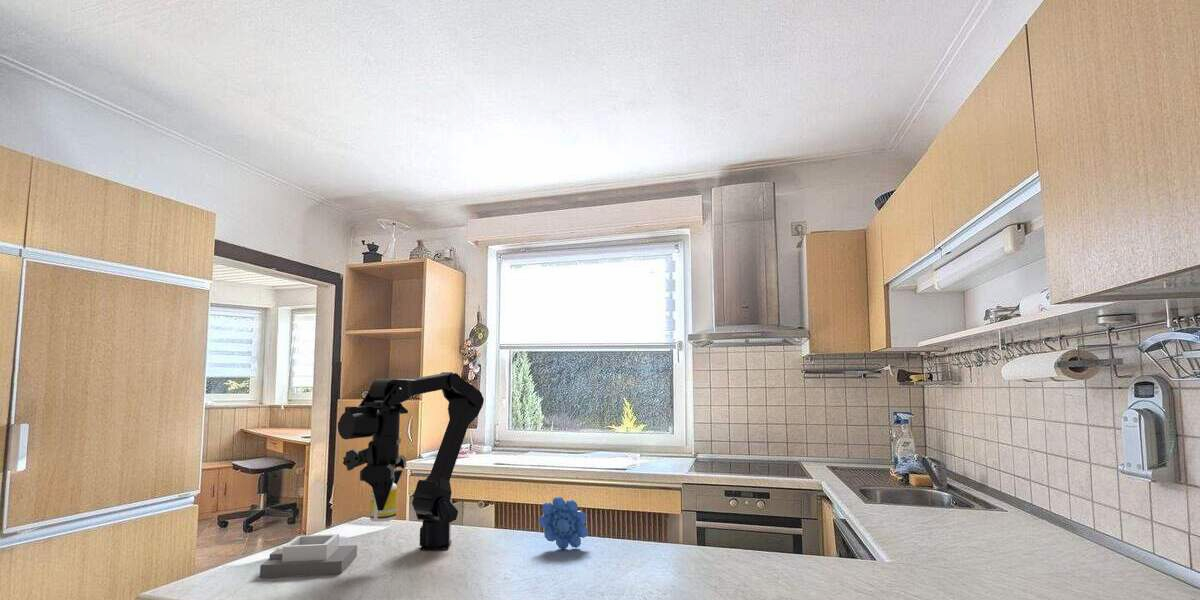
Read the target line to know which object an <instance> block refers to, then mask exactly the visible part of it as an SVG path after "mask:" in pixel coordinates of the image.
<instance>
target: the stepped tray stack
mask: <svg viewBox="0 0 1200 600" xmlns="http://www.w3.org/2000/svg"><path fill="white" fill-rule="evenodd" d="M357 556H358V545H357V544H355V545H340V533H336V534H333V533H332V534H331V533H330V534H312V535H311V534H309V535H296V537H293V539H291V540H290V541H289V542H288V543H286V544H285V545H284V546H282V548H276V549H275V550H273V551H272V552H270V553H269V558H268V559H267V560H266V561H264V562H262V564H260V566H259V578H260V579H263V578H267V579H268V578H283V577H284V578H285V577H303V576H304V577H305V576H323V575H338V574H339V575H341V574H343V573H344V571H346V569H347V568H348V567H349V566H350V565H351V564H352V563H353V561H354V560H356V559H357Z"/></svg>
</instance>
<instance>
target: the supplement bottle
mask: <svg viewBox="0 0 1200 600" xmlns="http://www.w3.org/2000/svg"><path fill="white" fill-rule="evenodd" d="M393 477H394V476H393ZM370 487H371V488H370V508H369V511H370V513H369V515H370V516H369V520H370V522H373V523H374V522H378V523H379V522H381V523H382V522H389V521H392V520H395V519H397V499H398V498H397V497H398V496H397V495H398V493H397V492H398V491H397V490H398V488H397V487H398V484H397V485H396V484H395V483H393V486H392V488H391V491H390V494H389V496H388V499H387V502H386V504H385V507H384V509H383V510H378V509H377V505H376V500H375V496H374V492H373V488H372V486H370Z"/></svg>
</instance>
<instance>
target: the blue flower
mask: <svg viewBox="0 0 1200 600" xmlns="http://www.w3.org/2000/svg"><path fill="white" fill-rule="evenodd" d="M541 510H542V512H543V514H542V515H540V516H539V519H538V524H539V526H541V528H543V529H545V530H544V531H543V532H544V533H543V534H544V538H545V539H546V540H547V542H551V543H553V542H555V544H556V546H557V547H558V549H561V550H566V549H568V547H569V545H570V546H571V548H576V549H577V548H579V547H580V546H581V544H582V540H581V538H582V539H584V538H586V537H587V536H588V534H589V528H588V527H587V526H586V525H585V524H586V523H587V520H588V517H587V514H586V513H585V511H583V510H579V506H578V503H577V502H576V501H575V500H573V499H569V500H567V501H565V500H564V498H562V497H561V496H554V497H553V499H552V503H551V502H545V503H543V504H542V507H541Z"/></svg>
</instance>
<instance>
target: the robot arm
mask: <svg viewBox="0 0 1200 600" xmlns="http://www.w3.org/2000/svg"><path fill="white" fill-rule="evenodd" d="M437 391H442V395H443V398H445V400H446V401H448V406H447V411H448V412H447V413H448V417H449V420H448V422H447V423H448V424H447V426H446V429H445V431H444V434H443V437H442V440H441V442H440V446H439V448H438V452H437V454H436V456H435V457H436V458H435V459H434V462H433V465H432V469H431V471H430V473H429V475H428V476H427V477H426V479H418V481H417V483H416V487H415V489H414V492H413V493H412V495H411V497H413V498H412V503H411V505H412V506H413V509H414V512H415V515H416V518H417V520H418V521H420V520H421V521H422V524H421V526H420V528H419V547H420V551H436V550H437V551H438V550H449V549H450V546H451V545H452V544H451V543H452V539H451V533H452V531H451V527H452V525H451V523H453V522H454V521H456V520H457V518H458V515H459V514H458V513H459V510H458V509H457V507H456V506H454V505H453V503H452V502H451V497H452V493H453V492H452V487H451V477H452V474H453V473H454V468H455V466H456V463H457V459H458V456H459V454H460V451H461V448H462V445H463V442H464V441H465V440H464V439H465V436H466V435H467V430H468V428H469V426H470V424H471V423H472V422H473V421H474V420H475V419H476V418H478V416H479V414H480V412H481V410H482V408H483V405H484V400H485V399H484V397H483V394H482V392H481V391H480V390H479V389H477V388H476V387H475V386H474V385H473V384H471V383H470V382H469V381H466V380H465V379H463V378H462V377H461V376H460V375H459V374H458V373H456V372H454V371H453V372H452V371H450V372H449V371H448V372H444V371H443V372H441V373H437V374H432V375H426V376H420V377H413V378H409V379H407V378H377V379H374V380H373V381H372V383H371V384H370V387H369V390H368V392H367V393H366V394H365V396H364V398H363V399H362V401H361V402H360V404H359V405H358V406H345V407H344V413H342V414H341V415H340V416H339V417H340V418H339V421H338V422H337V431H338V434H339V436H340V438H341V439H343V440H353V439H363V438H370V437H372V438H371V439H372V440H370V441H369V442H368V445H367V448H364V449H361V450H357V449H356V448H353V449H351V450H347V451H345V456H344V457H342V458H343V462H342V464H343V465H344V466H345V467H346V469H347V472H349V471H352V470H354V469H355V468H357V467H361V466H363V465H365V464H366V465H365V466H364V467H363V468H362V469H361V470H359V471H360V472H359V481H362V482H364V483H367V484H368V485H369V486H370V487H372V488H373V492H374V496H375V500H376V505H377V509H378V510H383V509H384V507H385V504H386V502H387V499H388V496H389V494H390V491H391V488H392V486H393V483H395V484H396V485H397V486H398V485H399V482H400V479H401V477H402V475H403V473H404V470H403V469H406V468H407V458H406V457H405V456H404V454H400V451H399V450H400V444H402V443H401V442H402V438H400V423H401V420H400V419H401V417H400V416H401V415H402V414H403V415H404V414H408V413H409V411H408V409H407V408H405V407H404V405H403V404H402V403H404V402H406V401H408V400H410V399H411V398H412V397H414V396H416V395H422V394H426V393H430V392H437ZM398 468H401V469H398ZM393 476H394V477H393Z"/></svg>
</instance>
